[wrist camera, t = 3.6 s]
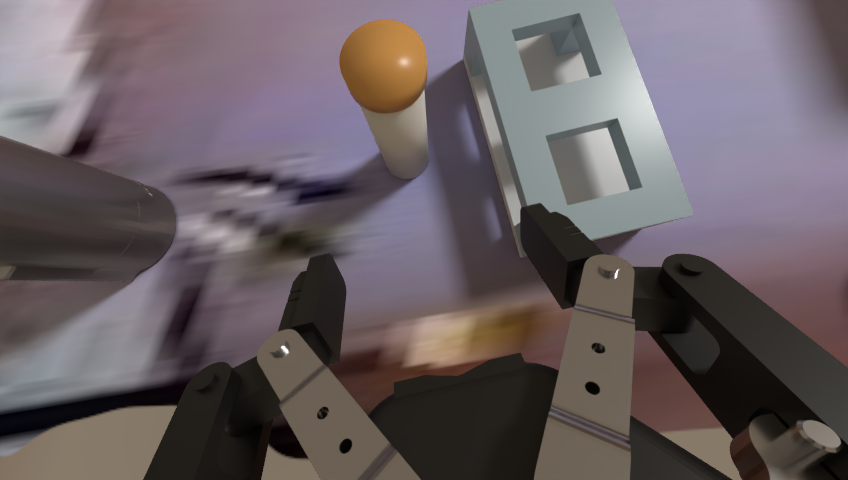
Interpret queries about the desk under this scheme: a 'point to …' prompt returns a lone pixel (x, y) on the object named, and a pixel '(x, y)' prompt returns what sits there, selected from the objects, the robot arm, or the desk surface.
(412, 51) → the orange ball-topped peg
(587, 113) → the grey hollow block
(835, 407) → the robot arm
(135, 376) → the desk surface
